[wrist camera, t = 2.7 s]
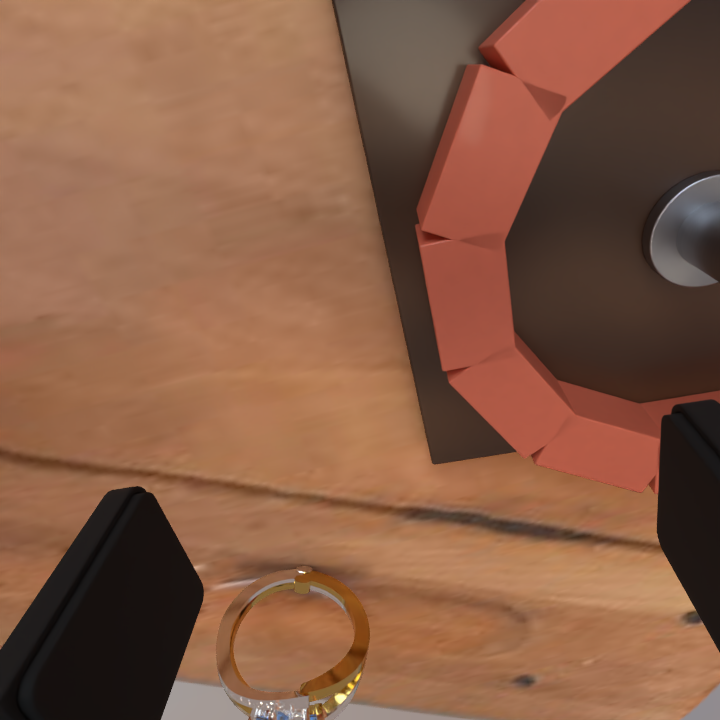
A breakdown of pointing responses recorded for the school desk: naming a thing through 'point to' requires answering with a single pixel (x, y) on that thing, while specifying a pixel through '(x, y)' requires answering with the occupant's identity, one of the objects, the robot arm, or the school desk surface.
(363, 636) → the ring
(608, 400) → the ring
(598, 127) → the board
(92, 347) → the school desk surface
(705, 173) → the steel post
